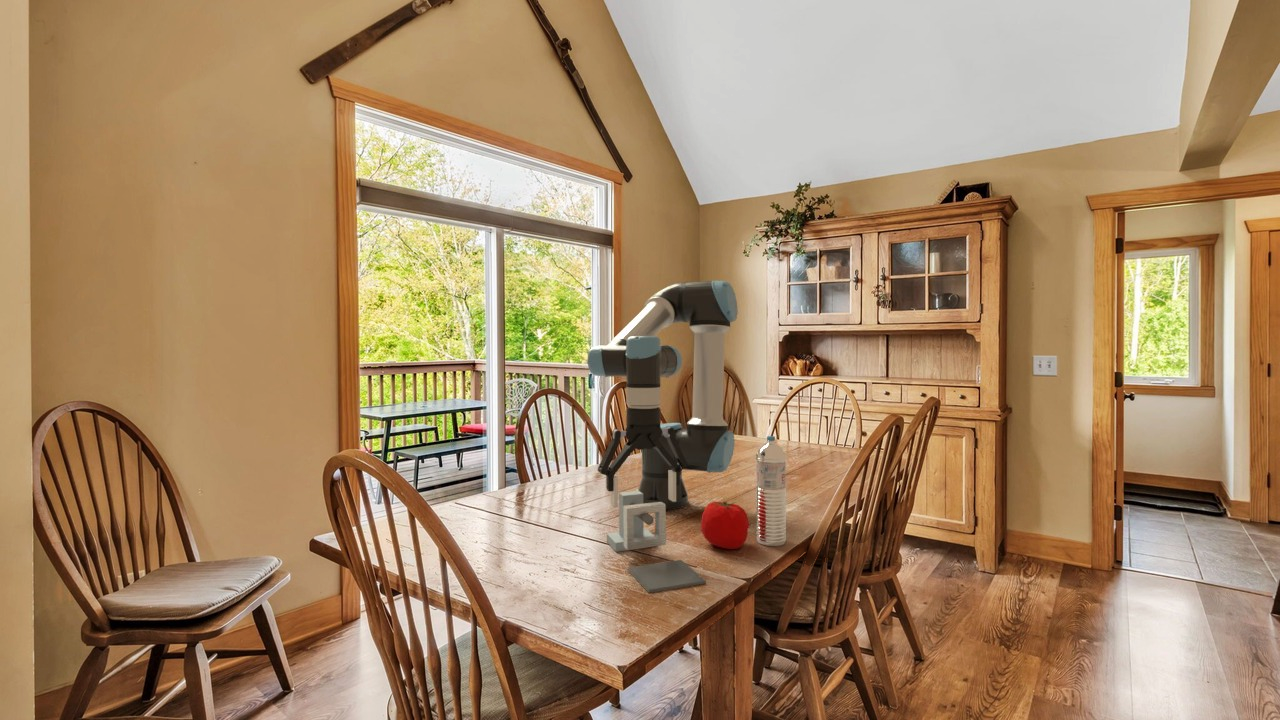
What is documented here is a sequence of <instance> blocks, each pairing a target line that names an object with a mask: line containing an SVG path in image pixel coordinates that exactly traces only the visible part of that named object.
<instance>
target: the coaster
mask: <svg viewBox="0 0 1280 720" xmlns="http://www.w3.org/2000/svg"><path fill="white" fill-rule="evenodd" d="M627 570H628V572H629V573H630V575H632V576H633V578H635V580H637V582H638V583H639V584H640V585H641V587H643V588H644V589H645V590H646V592H647V593H648V594H649V593H650V594H651V593H656V592H663V591H669V590H675V589H679V588H688V587H693V586H699V584H700V585H704V584H707V581H706V579H705V578H703V577H702V576H701V575H700V574H699V573H698V572H696V571H695V570H694V569H693V568H691V566H689V565H688V564H686V563H685V562H684V560H682V559H677V560H671V561H670V560H669V561H663V562H656V563H649V564H642V565H636V566H628V567H627Z"/></svg>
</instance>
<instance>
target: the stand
mask: <svg viewBox="0 0 1280 720" xmlns="http://www.w3.org/2000/svg"><path fill="white" fill-rule="evenodd" d="M636 504H643V493H641V492H640V491H638V490H633V491H623V492H622V491H621V492H618V523H619V524H618V530H619V531H618V532H617V531H615V532H609V533H606V543H607V544H608V545H609V546H610V547H611V549H612V550H613V551H615V552H623V551H628V550H627V549H626V548H625V547H624V527H623V506H626V505H636ZM654 522H655V517H654V516H652V514H651V513H646V514H637V515H634V538H640V537H648V536H655V535H654V534H653V533H652V532H651V531H649V529H647V528H644V523H645V524H646V525H648V526H650V525H653V523H654Z"/></svg>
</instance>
